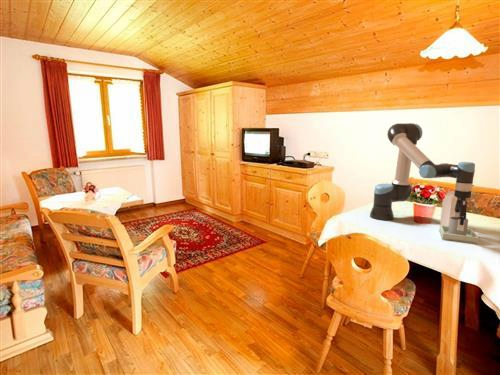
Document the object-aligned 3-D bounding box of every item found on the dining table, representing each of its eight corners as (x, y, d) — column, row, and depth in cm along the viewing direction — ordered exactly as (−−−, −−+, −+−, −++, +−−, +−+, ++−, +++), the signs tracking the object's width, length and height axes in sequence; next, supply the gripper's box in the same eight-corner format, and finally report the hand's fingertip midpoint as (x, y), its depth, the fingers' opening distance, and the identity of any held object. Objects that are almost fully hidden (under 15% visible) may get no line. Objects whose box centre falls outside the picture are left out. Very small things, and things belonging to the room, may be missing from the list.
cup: (469, 238, 162) (471, 221, 161) (452, 237, 164) (454, 220, 162) (461, 233, 171) (463, 217, 169) (445, 232, 172) (447, 216, 170)
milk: (448, 227, 185) (452, 193, 181) (439, 224, 191) (443, 191, 186) (455, 226, 186) (460, 192, 182) (446, 223, 192) (450, 190, 188)
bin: (442, 239, 164) (442, 233, 163) (439, 230, 178) (439, 225, 177) (477, 244, 157) (478, 237, 156) (471, 234, 171) (472, 229, 170)
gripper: (476, 195, 150) (470, 234, 154) (467, 186, 172) (462, 221, 176) (458, 193, 153) (453, 232, 157) (451, 185, 175) (447, 219, 179)
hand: (458, 226), depth 166 cm, fingers open, 13 cm apart
